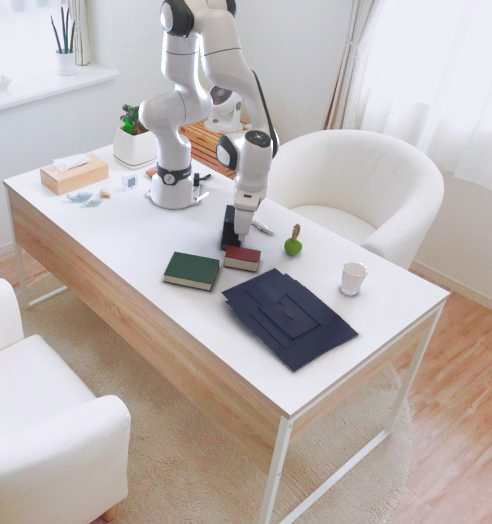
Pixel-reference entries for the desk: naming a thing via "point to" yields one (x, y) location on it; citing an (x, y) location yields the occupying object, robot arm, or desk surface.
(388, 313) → the desk surface
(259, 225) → the stylus pen
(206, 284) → the hardcover book
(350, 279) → the cup
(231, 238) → the small box
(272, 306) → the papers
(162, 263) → the desk surface
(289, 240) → the snail figurine
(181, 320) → the desk surface
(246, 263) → the pocket dictionary
